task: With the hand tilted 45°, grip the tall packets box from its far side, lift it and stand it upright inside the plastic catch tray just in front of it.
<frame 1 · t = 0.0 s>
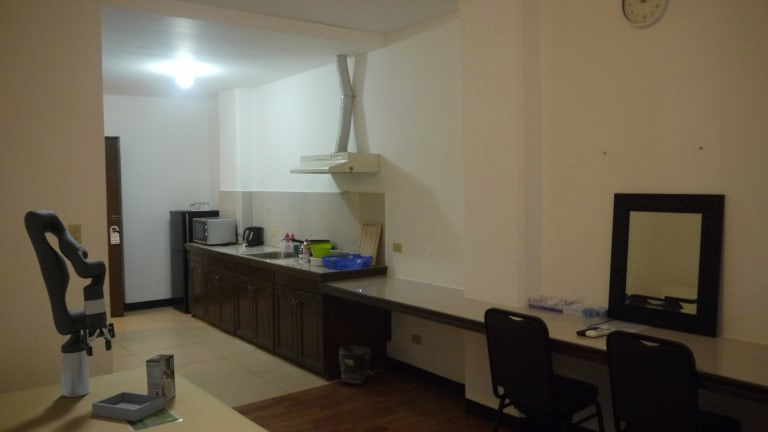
hand: (99, 353, 234), 17 cm above the table, tool pointing down, fingers open, 8 cm apart
catch tray: (129, 411, 218), on the table
coffee box: (162, 399, 230), on the table
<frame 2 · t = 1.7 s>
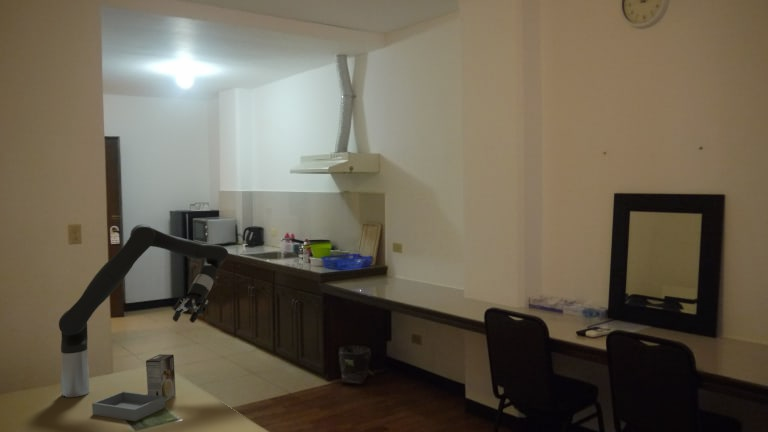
hand: (182, 321, 241), 27 cm above the table, tool tilted 45°, fingers open, 8 cm apart
nothing on the table moved.
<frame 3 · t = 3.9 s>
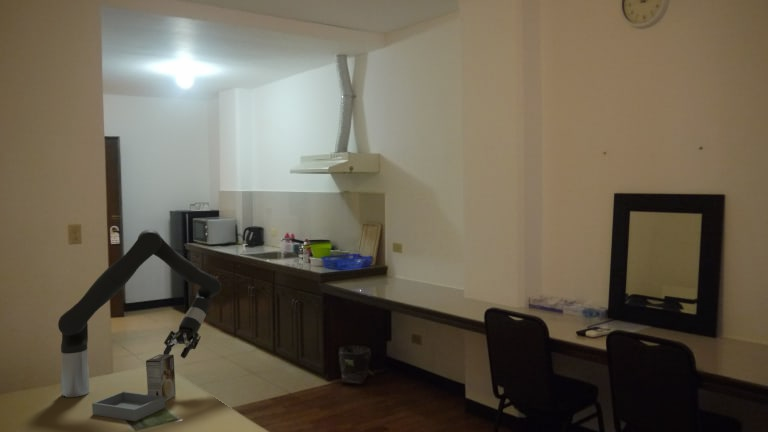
hand: (173, 356, 236), 14 cm above the table, tool tilted 45°, fingers open, 8 cm apart
nothing on the table moved.
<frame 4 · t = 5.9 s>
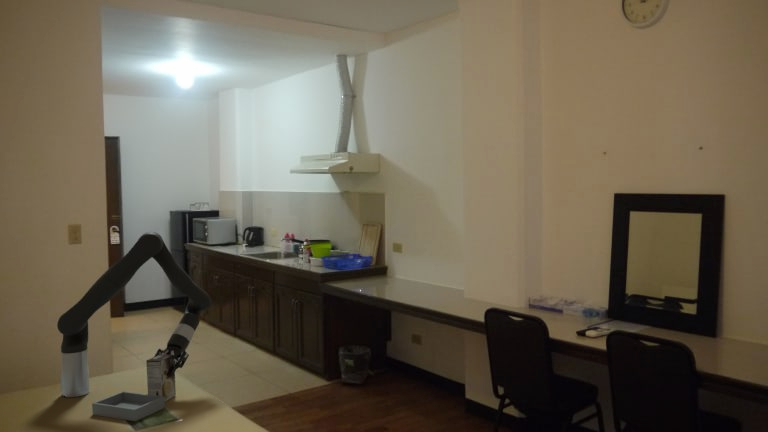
hand: (160, 375, 230), 9 cm above the table, tool tilted 45°, fingers closed on coffee box, 7 cm apart
coffee box: (162, 399, 230), on the table, touching gripper
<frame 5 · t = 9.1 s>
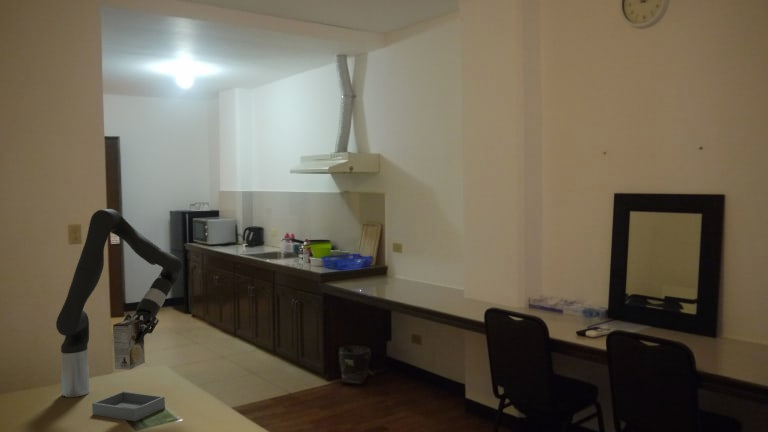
hand: (128, 341, 218), 25 cm above the table, tool tilted 45°, fingers closed on coffee box, 7 cm apart
coffee box: (129, 366, 219), point 16 cm above the table, touching gripper
when the fingers open (11 cm above the table, at t = 12.5 s): coffee box drops 1 cm, resting on catch tray.
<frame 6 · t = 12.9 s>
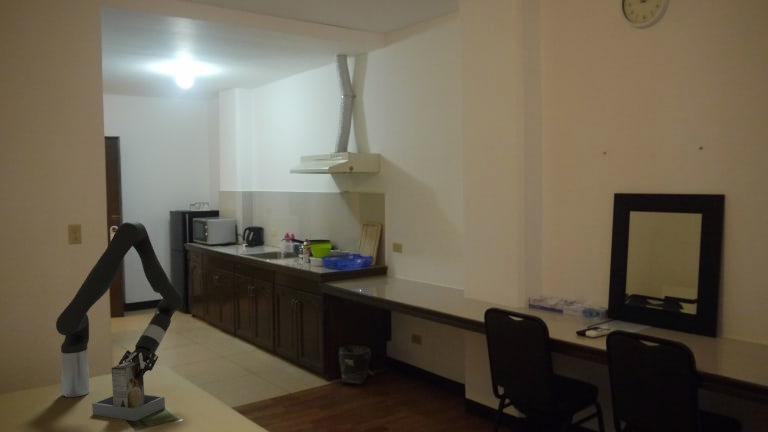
hand: (128, 378, 218), 12 cm above the table, tool tilted 45°, fingers open, 8 cm apart
coffee box: (129, 409, 219), point 1 cm above the table, touching catch tray
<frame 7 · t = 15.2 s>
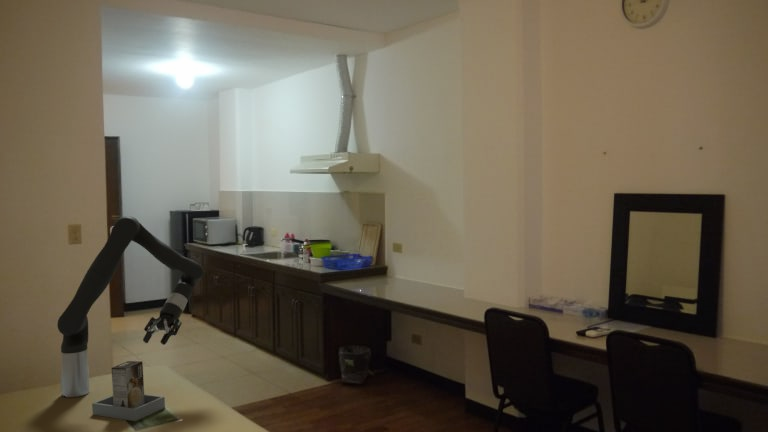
hand: (153, 342, 229), 22 cm above the table, tool tilted 45°, fingers open, 8 cm apart
nothing on the table moved.
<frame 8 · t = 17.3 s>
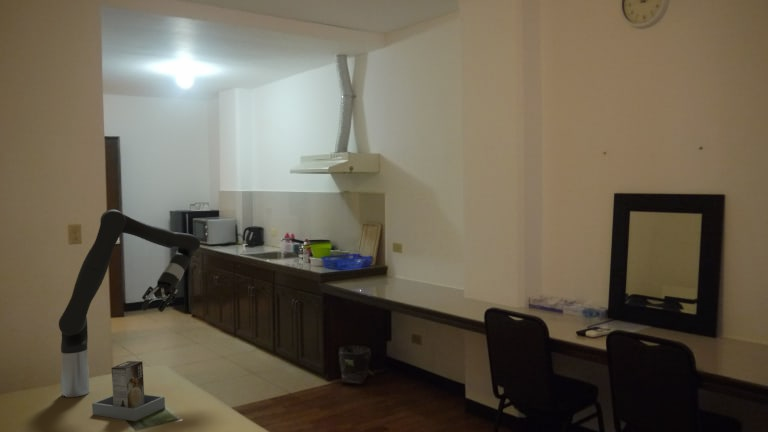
hand: (151, 310, 237), 33 cm above the table, tool tilted 45°, fingers open, 8 cm apart
nothing on the table moved.
at the end: coffee box inside the target area on the catch tray (0.4 cm from its centre), point 0.6 cm above the catch tray's base; coffee box tilted 0°; the gripper is holding nothing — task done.
